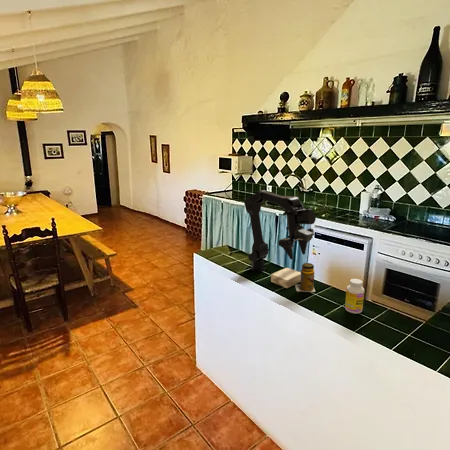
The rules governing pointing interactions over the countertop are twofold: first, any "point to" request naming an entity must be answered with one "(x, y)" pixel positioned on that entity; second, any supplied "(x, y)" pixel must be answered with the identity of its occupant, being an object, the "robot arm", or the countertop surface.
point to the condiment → (306, 278)
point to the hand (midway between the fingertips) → (297, 256)
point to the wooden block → (286, 277)
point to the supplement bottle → (354, 296)
